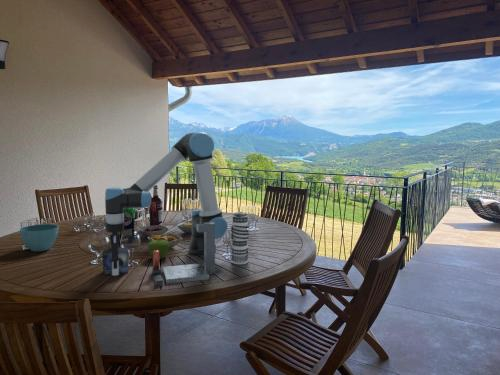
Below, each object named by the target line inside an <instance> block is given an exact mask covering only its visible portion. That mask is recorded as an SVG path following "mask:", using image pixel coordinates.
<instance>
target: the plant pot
mask: <svg viewBox="0 0 500 375" xmlns="http://www.w3.org/2000/svg"><path fill="white" fill-rule="evenodd" d="M59 229H60V227H59V225H58V224H50V223H49V224H46V223H44V224H43V223H42V224H33V225H32V224H31V225H28V226H22V227H20V228H19V235H20V239H21V241H22V242H23V243H24V246H26V248H28V249H29V250H30V251H32V252H34V253H35V252H36V253H39V252H45V251H48V250H50V249H51V247H52V246H53V245H54V243H55V242H56V240H57V237H58V235H59Z"/></svg>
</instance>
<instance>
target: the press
mask: <svg viewBox="0 0 500 375" xmlns="http://www.w3.org/2000/svg"><path fill="white" fill-rule="evenodd" d="M197 232H204V254H203V255H204V256H203V262H204V263H200V262H199V263H192V264H180V265H171V266H169V265H168V266H162V274H163V276H164V279H163V278H162V275H161V273H154V274H153V273H152V276H153V277H152V278H153V281H154V285H155V287H156V288H157V287H163V286H164V280H165V284H166V285H171V284H179V283H187V282H188V283H190V282H196V281H207V280H209V279H210V275H213V274H216V272H215V271H216V270H215V269H216V264H215V263H216V261H215V260H216V259H215V258H216V251H215V244H216V239H215V223H214V222H204V224H197Z"/></svg>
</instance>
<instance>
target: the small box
mask: <svg viewBox="0 0 500 375" xmlns="http://www.w3.org/2000/svg"><path fill="white" fill-rule="evenodd" d="M118 259H119V275H124V274H129V270H130V267H129V264H130V263H129V262H130V261H129V260H130V259H129V247H128V246H127V247H119V248H118ZM110 260H112V247H111V248H104V249H103V251H102V269H103V270H102V271H103V272H102V273H103V276H106V275H107V276H108V275H112V262H110Z"/></svg>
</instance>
